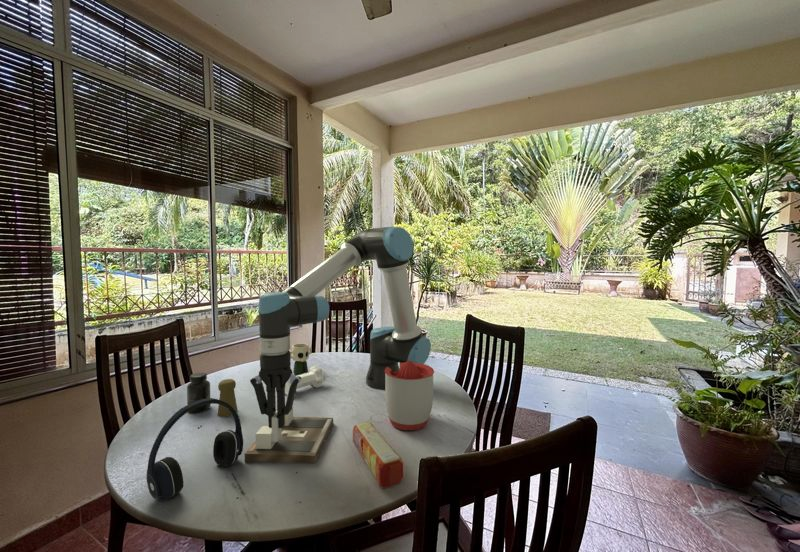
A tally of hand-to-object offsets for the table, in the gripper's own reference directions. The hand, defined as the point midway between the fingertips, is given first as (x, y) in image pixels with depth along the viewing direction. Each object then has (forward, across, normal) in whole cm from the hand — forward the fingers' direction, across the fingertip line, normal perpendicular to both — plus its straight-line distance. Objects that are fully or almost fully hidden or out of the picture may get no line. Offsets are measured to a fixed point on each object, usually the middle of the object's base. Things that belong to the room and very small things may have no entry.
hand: (277, 438), depth 89 cm
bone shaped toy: (+4, -7, +42) cm, 43 cm away
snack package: (+4, +26, -3) cm, 27 cm away
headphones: (+4, -14, -11) cm, 18 cm away
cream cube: (+2, -3, 0) cm, 3 cm away
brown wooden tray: (+4, +2, +6) cm, 7 cm away
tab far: (+2, -3, +12) cm, 12 cm away
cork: (+4, -26, +22) cm, 34 cm away
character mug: (+4, -14, +60) cm, 62 cm away
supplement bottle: (+4, -37, +24) cm, 44 cm away
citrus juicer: (+4, +34, +19) cm, 39 cm away
